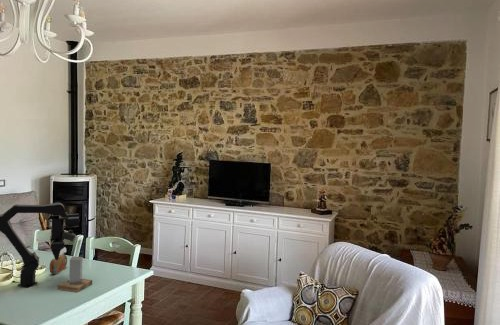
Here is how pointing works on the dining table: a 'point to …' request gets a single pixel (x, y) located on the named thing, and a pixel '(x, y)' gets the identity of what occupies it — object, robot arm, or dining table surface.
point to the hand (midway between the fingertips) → (56, 257)
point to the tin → (58, 264)
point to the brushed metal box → (75, 270)
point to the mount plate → (75, 286)
